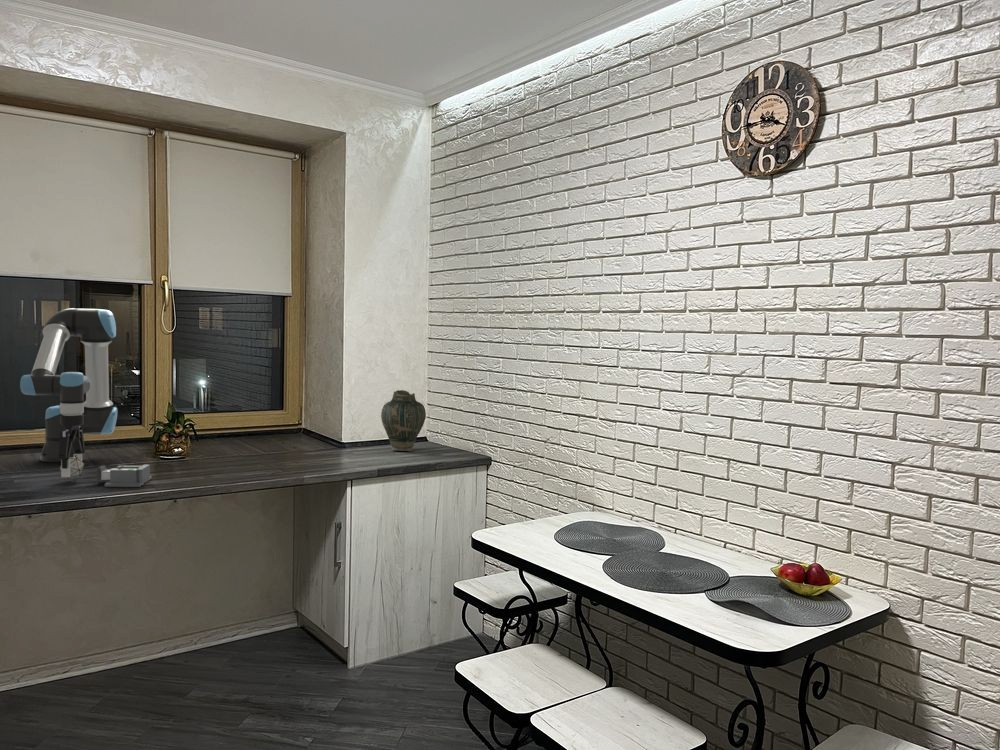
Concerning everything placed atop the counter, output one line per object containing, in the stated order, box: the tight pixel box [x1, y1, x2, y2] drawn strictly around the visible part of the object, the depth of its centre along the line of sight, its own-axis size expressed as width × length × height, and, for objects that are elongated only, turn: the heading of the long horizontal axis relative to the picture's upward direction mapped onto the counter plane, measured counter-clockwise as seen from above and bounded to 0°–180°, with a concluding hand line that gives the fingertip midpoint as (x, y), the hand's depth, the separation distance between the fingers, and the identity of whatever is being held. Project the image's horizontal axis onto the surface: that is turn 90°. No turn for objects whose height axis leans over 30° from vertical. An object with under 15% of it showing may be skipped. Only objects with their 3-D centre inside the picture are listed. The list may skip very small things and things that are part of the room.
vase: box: [380, 389, 427, 452], centre depth 361 cm, size 22×22×30 cm
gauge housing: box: [104, 464, 153, 488], centre depth 270 cm, size 14×12×6 cm
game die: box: [56, 455, 88, 479], centre depth 267 cm, size 9×8×10 cm
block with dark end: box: [96, 465, 125, 481], centre depth 268 cm, size 7×9×5 cm
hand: (71, 473), depth 267 cm, fingers closed on game die, 10 cm apart
